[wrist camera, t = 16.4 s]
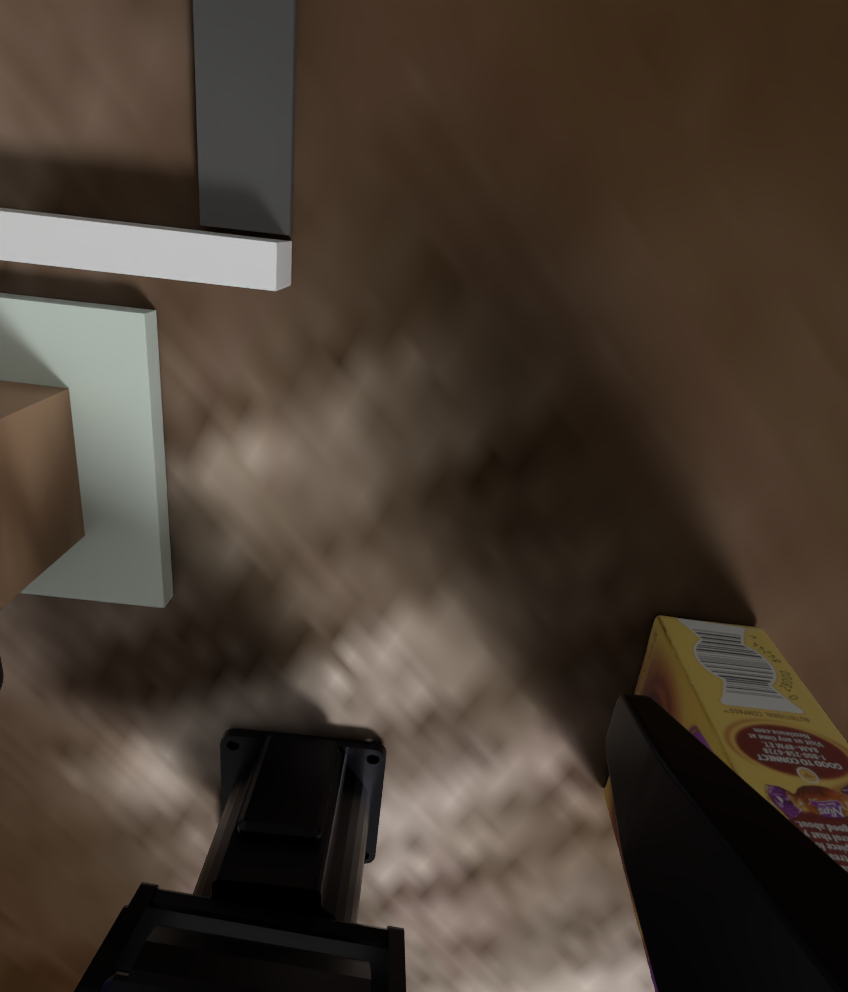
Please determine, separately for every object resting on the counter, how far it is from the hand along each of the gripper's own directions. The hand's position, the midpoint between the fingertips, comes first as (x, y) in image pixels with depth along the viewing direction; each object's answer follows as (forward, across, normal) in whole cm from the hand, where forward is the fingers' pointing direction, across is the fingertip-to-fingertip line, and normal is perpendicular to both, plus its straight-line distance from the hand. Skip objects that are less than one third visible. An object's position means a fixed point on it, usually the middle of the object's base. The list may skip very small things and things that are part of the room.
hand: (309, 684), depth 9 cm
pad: (+12, +12, +2) cm, 17 cm away
